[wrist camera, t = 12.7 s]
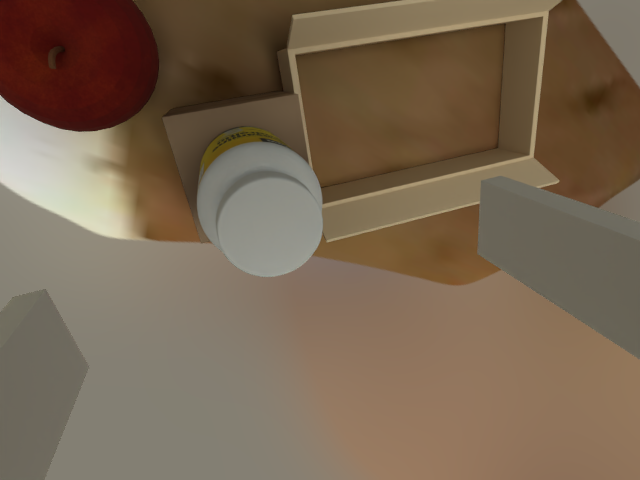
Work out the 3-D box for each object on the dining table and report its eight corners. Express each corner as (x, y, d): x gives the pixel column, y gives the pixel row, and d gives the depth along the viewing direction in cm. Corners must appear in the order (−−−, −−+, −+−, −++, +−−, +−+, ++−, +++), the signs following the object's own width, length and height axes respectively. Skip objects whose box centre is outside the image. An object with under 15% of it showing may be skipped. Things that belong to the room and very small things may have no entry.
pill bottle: (306, 148, 27) (368, 190, 17) (270, 226, 29) (307, 309, 18) (219, 107, 24) (229, 127, 14) (185, 196, 26) (172, 272, 16)
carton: (272, 29, 31) (292, 14, 24) (511, -4, 35) (587, -25, 28) (304, 213, 38) (327, 243, 31) (500, 166, 42) (559, 183, 35)
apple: (-3, -16, 25) (-115, -68, 16) (147, -23, 27) (119, -72, 18) (52, 129, 29) (-14, 150, 20) (180, 113, 31) (170, 127, 22)
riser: (171, 108, 31) (161, 117, 24) (277, 90, 32) (297, 93, 25) (201, 210, 35) (201, 243, 28) (295, 189, 36) (317, 215, 29)
